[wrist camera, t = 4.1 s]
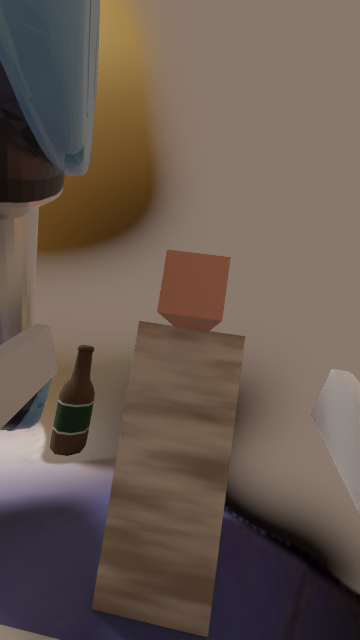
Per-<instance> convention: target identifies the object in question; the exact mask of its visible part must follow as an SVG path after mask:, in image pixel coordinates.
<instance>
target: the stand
mask: <svg viewBox="0 0 360 640" xmlns="http://www.w3.org/2000/svg"><path fill="white" fill-rule="evenodd" d="M244 340H245V336H238V335H232V334H225V333H218V332H211V331H204V330H197V329H190V328H184V327H177V326H170V325H163V324H156V323H149V322H142V321H139V326H138V332H137V338H136V344H135V350H134V356H133V362H132V368H131V374H130V380H129V386H128V392H127V398H126V404H125V410H124V416H123V422H122V428H121V435H120V440H119V446H118V452H117V458H116V464H115V470H114V476H113V482H112V488H111V494H110V500H109V506H108V512H107V518H106V524H105V530H104V536H103V542H102V548H101V554H100V560H99V566H98V572H97V578H96V584H95V590H94V596H93V602H92V608H91V609H92V610H96V611H101V612H105V613H109V614H113V615H117V616H121V617H125V618H129V619H133V620H137V621H142V622H146V623H150V624H154V625H158V626H162V627H166V628H170V629H174V630H178V631H183V632H187V633H191V634H195V635H199V636H203V637H207V638H208V633H209V625H210V617H211V609H212V600H213V592H214V584H215V576H216V568H217V560H218V552H219V544H220V536H221V528H222V519H223V511H224V503H225V495H226V487H227V479H228V471H229V463H230V462H229V461H230V454H231V446H232V438H233V430H234V422H235V414H236V406H237V398H238V390H239V389H238V388H239V381H240V373H241V365H242V357H243V349H244Z"/></svg>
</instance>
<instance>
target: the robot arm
mask: <svg viewBox="0 0 360 640" xmlns="http://www.w3.org/2000/svg"><path fill="white" fill-rule="evenodd" d="M99 18H100V0H0V430H7V431H14V430H16V429H26V428H30V427H32V426H34V425H35V424H36V423H37V422H38V421H39V419H40V417H41V414H42V411H43V409H44V405H45V402H46V399H47V396H48V392H49V389H50V384H51V380H52V377H53V376H54V375H55V374H56V373H57V366H56V359H55V353H54V347H53V340H52V333H51V327H50V326H48V325H41V324H34V325H33V322H34V300H35V278H36V256H37V234H38V213H39V206H41V205H44V204H46V203H48V202H50V201H52V200H54V199H56V198H57V197H59V195H60V194H61V193H62V190H63V184H64V175H68V176H72V175H83V174H85V172H86V171H87V169H88V167H89V160H90V155H91V147H92V133H93V122H94V113H95V103H96V86H97V69H98V47H99ZM311 416H312V418H313V420H314V422H315V424H316V426H317V428H318V430H319V432H320V434H321V436H322V438H323V440H324V442H325V445H326V446H327V449H328V451H329V453H330V455H331V457H332V459H333V461H334V463H335V465H336V467H337V469H338V471H339V473H340V475H341V477H342V479H343V481H344V483H345V485H346V487H347V489H348V491H349V493H350V495H351V498H352V500H353V502H354V504H355V506H356V507H357V510H358V512H359V514H360V383H359V382H358V380H357V379H356V378H355V377H354V376H353V375H352V373H351V372H348V371H341V370H335V369H332V370H331V372H330V374H329V376H328V379H327V381H326V383H325V385H324V387H323V389H322V392H321V394H320V396H319V398H318V400H317V402H316V405H315V407H314V409H313V411H312V413H311Z"/></svg>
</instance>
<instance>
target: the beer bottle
mask: <svg viewBox="0 0 360 640" xmlns="http://www.w3.org/2000/svg"><path fill="white" fill-rule="evenodd" d="M78 350H79V352H78V356H77V359H76V363H75V367H74V371H73V374H72V377H71V379H70V380H69V381H68V382H67V383H66V384H65V385H64V387H63V389H62V390H61V393H60V396H59V400H58V405H57V411H56V416H55V421H54V426H53V431H52V437H51V443H50V448H51V450H52V451H53V452H54V454H58V455H66V456H68V455H72V454H76V453H80V452H81V450H82V449H83V448H84V447H85V445H86V441H87V436H88V430H89V425H90V419H91V414H92V408H93V402H94V388H93V385H92V383H91V381H90V369H91V361H92V353H93V351H94V347H92V346H87V345H80V346H79V347H78Z"/></svg>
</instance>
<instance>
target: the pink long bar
mask: <svg viewBox="0 0 360 640" xmlns="http://www.w3.org/2000/svg"><path fill="white" fill-rule="evenodd" d="M229 264H230V257H223V256H215V255H206V254H199V253H190V252H182V251H174V250H167V254H166V260H165V267H164V273H163V279H162V285H161V291H160V298H159V304H158V310H157V312H158V313H159V314H161V315H162V316H163V317H164V318H165V319H166V320H168V321H169V322H170V323H171V324H172V325H173V326H177V327H184V328H190V329H197V330H204V331H210V330H211V329H212V328H214V327H215V326H216V325H217V324H219V323H220V322H221V321H222V317H223V310H224V302H225V295H226V287H227V279H228V271H229Z"/></svg>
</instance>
